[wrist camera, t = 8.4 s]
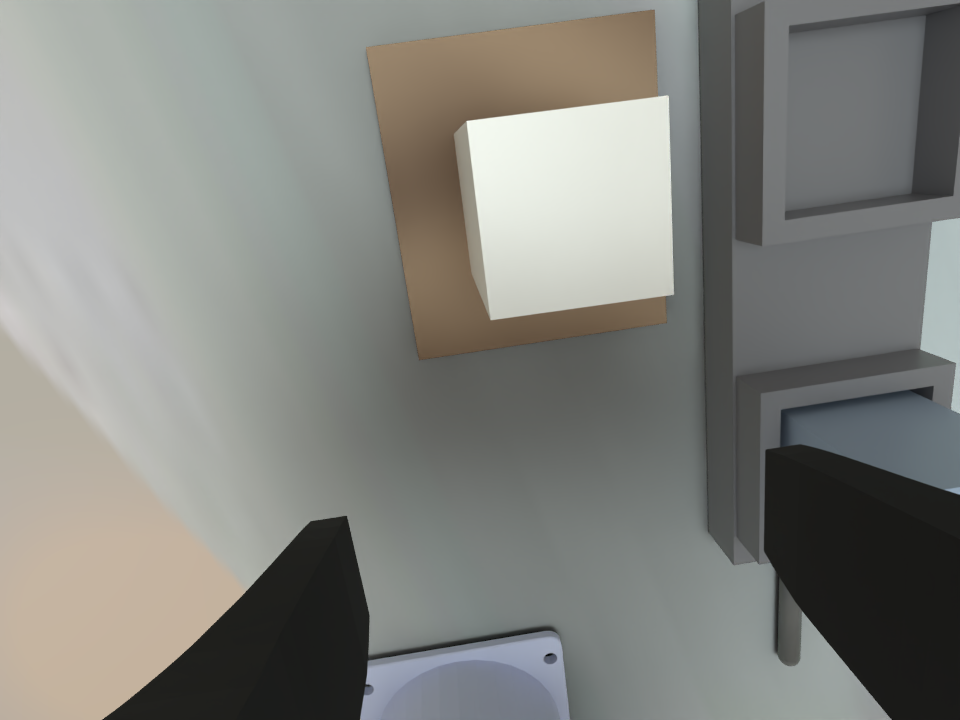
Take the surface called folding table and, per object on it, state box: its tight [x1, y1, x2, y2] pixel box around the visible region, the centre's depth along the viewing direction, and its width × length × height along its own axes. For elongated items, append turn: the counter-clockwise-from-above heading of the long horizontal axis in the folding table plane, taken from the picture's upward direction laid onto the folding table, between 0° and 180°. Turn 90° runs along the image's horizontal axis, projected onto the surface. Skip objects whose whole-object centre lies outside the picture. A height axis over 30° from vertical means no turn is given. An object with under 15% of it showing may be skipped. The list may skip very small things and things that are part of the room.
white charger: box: [454, 95, 674, 320], centre depth 16 cm, size 4×4×6 cm
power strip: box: [698, 0, 960, 666], centre depth 20 cm, size 24×6×4 cm, turn 7°
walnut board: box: [366, 10, 667, 360], centre depth 19 cm, size 9×8×1 cm
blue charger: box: [780, 390, 960, 495], centre depth 17 cm, size 4×4×6 cm
